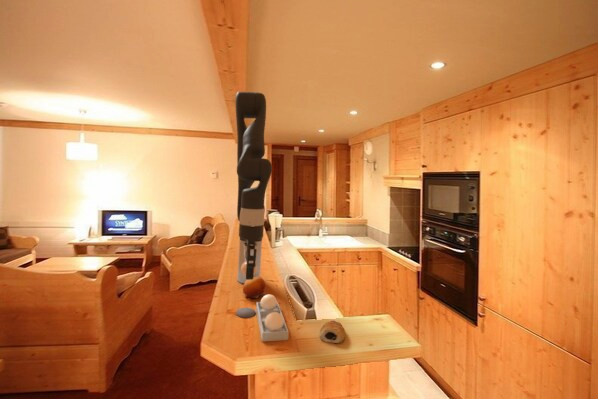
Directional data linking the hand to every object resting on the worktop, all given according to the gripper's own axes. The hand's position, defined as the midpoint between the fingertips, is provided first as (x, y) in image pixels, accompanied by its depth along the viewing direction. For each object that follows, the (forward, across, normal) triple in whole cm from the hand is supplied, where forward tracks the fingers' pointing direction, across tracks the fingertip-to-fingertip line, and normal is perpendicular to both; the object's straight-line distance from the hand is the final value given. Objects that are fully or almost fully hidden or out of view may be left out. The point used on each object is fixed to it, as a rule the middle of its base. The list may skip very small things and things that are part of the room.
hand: (248, 275), depth 91 cm
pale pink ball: (-2, 0, 0) cm, 2 cm away
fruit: (+13, -13, +3) cm, 19 cm away
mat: (+12, 0, 0) cm, 12 cm away
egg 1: (+9, +1, +7) cm, 11 cm away
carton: (+12, +8, +6) cm, 16 cm away
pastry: (+12, +16, +23) cm, 31 cm away
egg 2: (+8, +14, +6) cm, 17 cm away
